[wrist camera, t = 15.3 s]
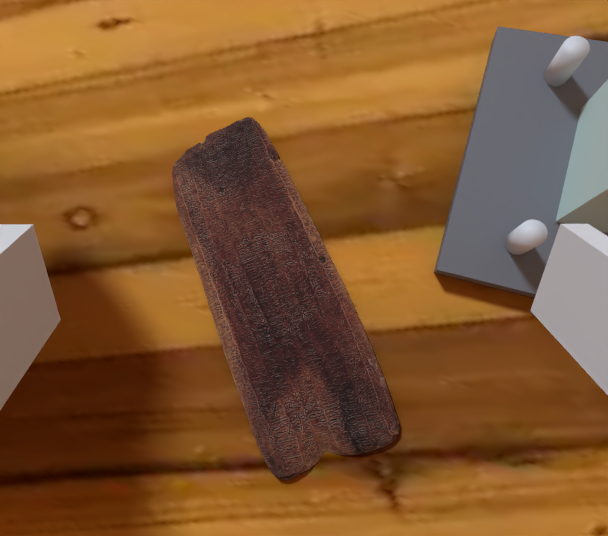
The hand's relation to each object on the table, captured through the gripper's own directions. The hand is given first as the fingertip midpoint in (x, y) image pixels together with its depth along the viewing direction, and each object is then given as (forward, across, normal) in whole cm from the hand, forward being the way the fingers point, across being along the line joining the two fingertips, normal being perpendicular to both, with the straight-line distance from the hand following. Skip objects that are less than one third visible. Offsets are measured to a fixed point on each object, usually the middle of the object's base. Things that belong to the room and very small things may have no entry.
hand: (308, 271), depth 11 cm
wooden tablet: (+19, 0, -12) cm, 22 cm away
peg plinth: (+18, +22, -3) cm, 28 cm away
